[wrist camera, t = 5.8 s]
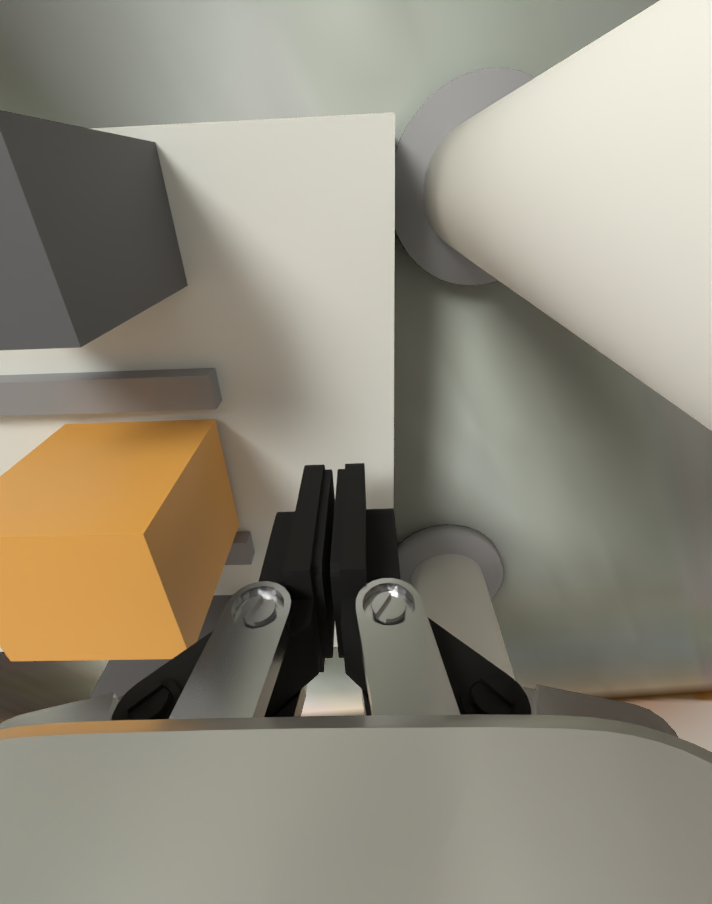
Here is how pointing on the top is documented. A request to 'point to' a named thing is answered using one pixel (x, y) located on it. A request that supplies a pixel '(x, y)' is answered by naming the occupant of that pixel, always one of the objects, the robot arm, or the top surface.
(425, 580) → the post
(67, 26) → the top surface
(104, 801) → the robot arm
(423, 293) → the top surface
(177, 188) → the panel
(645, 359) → the white rounded rod
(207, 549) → the smooth orange cube
